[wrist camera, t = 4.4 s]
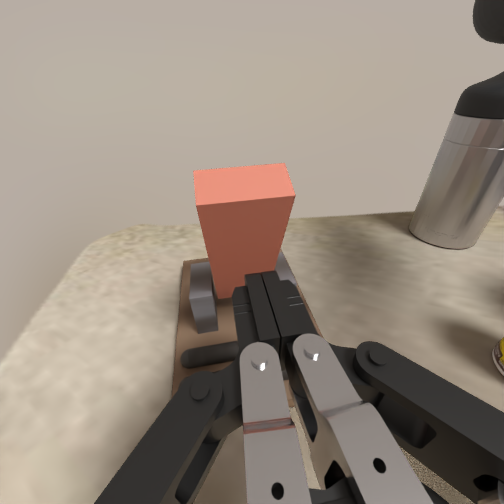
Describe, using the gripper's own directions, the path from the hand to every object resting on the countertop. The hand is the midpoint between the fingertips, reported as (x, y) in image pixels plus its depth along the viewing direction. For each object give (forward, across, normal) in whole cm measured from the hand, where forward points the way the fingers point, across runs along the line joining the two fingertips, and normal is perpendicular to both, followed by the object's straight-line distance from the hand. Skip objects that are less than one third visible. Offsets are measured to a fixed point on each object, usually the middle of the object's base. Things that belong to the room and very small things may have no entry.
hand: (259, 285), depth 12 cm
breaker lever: (+10, 0, +9) cm, 13 cm away
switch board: (+10, 0, +14) cm, 17 cm away
